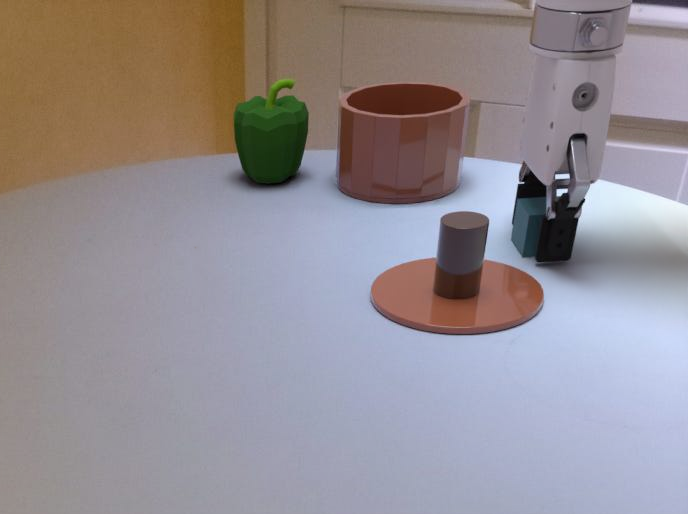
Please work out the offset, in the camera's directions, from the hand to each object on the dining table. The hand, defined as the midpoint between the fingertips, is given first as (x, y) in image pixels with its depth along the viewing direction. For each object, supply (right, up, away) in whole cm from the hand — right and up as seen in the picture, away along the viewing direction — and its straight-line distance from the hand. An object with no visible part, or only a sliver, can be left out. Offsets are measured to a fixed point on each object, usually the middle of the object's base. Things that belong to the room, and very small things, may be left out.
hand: (539, 241), depth 93 cm
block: (0, -1, +1) cm, 1 cm away
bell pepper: (-24, +16, +20) cm, 35 cm away
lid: (-10, -8, -7) cm, 14 cm away
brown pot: (-10, +14, +17) cm, 24 cm away
